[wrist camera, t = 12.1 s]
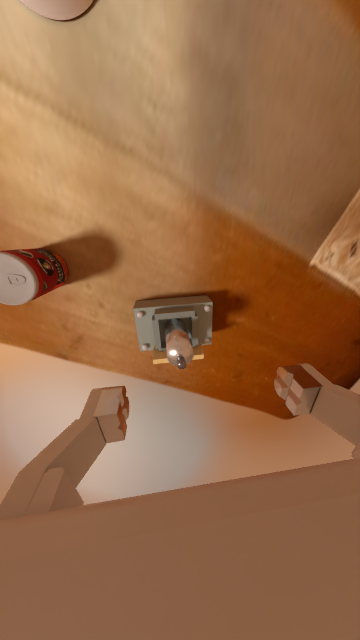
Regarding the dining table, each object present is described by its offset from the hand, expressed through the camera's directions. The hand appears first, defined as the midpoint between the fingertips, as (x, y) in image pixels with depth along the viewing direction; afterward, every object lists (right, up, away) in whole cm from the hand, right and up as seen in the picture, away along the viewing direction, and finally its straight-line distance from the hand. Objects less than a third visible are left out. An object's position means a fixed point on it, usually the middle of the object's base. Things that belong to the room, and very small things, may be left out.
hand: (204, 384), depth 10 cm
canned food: (-27, +14, +26) cm, 40 cm away
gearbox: (-3, +4, +33) cm, 34 cm away
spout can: (-2, +2, +29) cm, 29 cm away
